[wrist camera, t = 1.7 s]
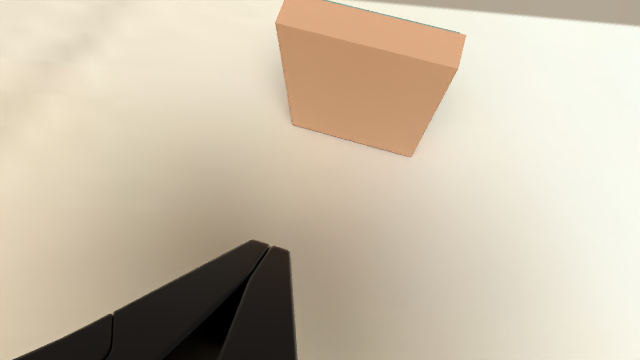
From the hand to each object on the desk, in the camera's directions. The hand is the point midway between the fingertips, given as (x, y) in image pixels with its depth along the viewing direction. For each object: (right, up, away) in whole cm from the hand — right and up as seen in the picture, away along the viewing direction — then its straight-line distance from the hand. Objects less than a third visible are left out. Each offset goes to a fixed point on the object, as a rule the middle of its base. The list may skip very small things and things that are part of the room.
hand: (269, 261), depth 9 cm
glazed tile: (+3, +5, +16) cm, 17 cm away
